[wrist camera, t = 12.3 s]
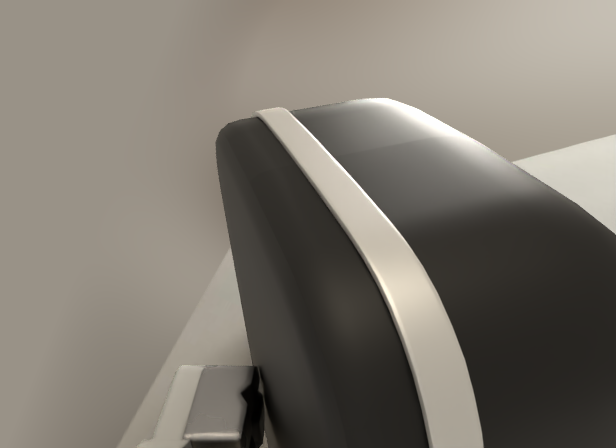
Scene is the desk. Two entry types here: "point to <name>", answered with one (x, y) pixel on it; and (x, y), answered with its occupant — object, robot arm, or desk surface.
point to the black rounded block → (414, 286)
